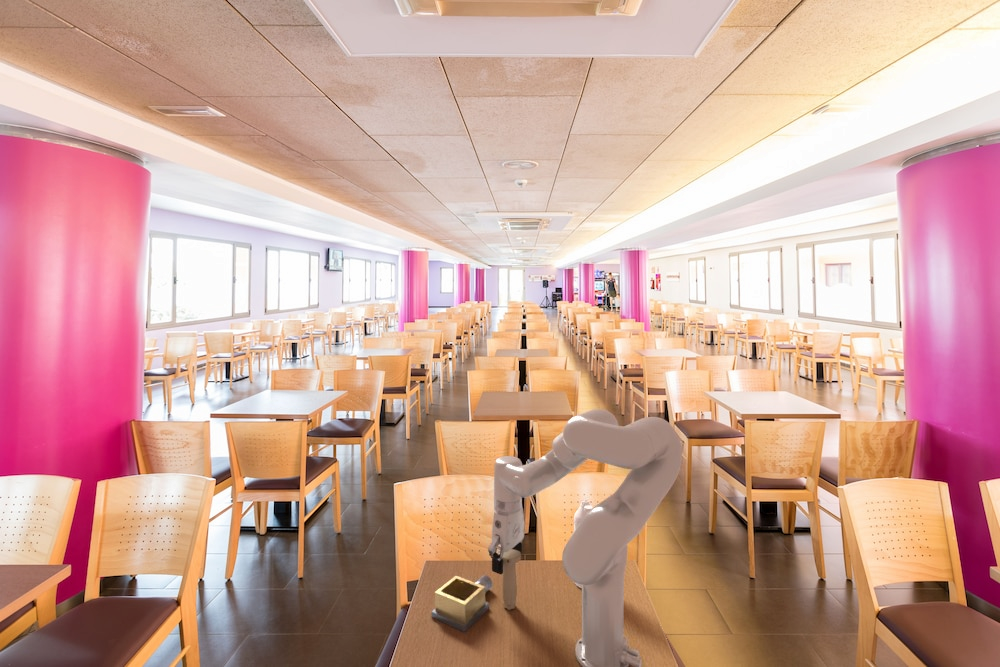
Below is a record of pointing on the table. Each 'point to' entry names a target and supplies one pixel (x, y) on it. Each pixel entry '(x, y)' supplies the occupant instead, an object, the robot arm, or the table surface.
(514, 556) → the handle
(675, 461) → the robot arm
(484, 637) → the table surface
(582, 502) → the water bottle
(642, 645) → the table surface
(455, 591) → the socket
